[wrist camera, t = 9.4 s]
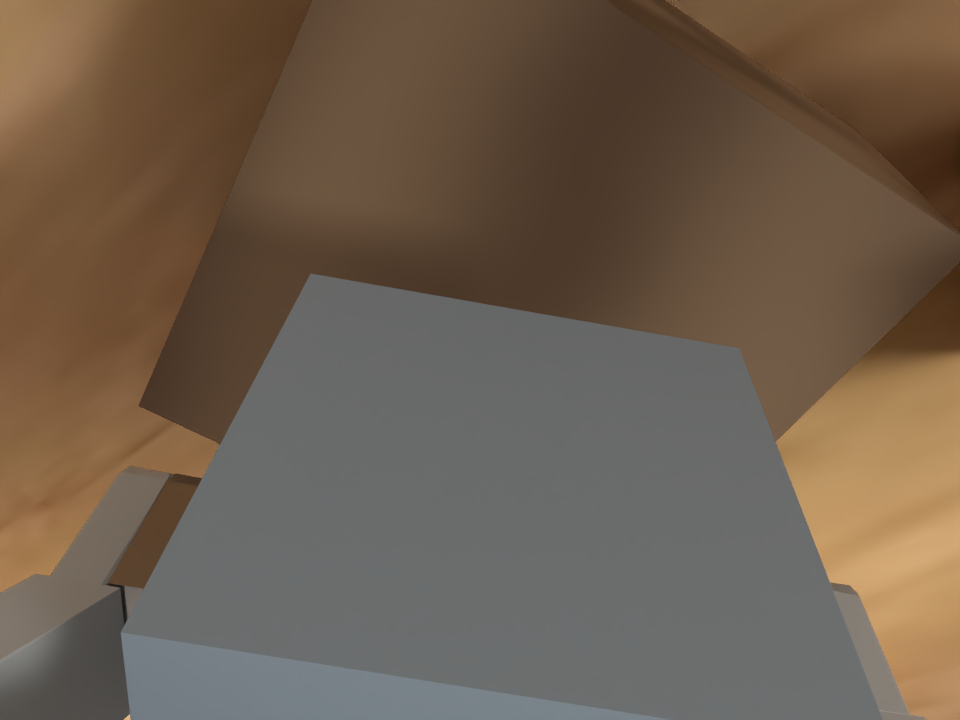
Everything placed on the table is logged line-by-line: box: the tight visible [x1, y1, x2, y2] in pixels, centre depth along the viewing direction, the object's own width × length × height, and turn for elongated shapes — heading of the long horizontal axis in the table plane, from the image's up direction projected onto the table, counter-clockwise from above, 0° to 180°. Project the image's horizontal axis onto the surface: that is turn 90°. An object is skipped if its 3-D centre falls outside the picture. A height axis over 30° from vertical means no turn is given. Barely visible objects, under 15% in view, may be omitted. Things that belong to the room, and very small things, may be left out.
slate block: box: [121, 274, 883, 720], centre depth 9 cm, size 5×5×5 cm
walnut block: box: [139, 0, 960, 444], centre depth 16 cm, size 10×10×6 cm
